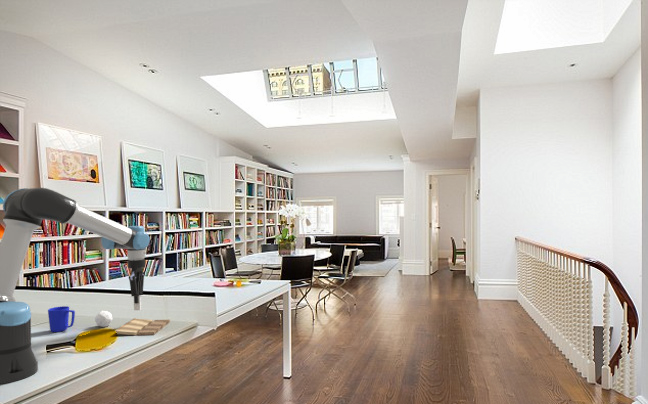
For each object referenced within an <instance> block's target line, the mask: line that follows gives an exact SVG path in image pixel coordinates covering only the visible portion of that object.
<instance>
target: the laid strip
mask: <svg viewBox="0 0 648 404" xmlns="http://www.w3.org/2000/svg"><path fill="white" fill-rule="evenodd" d="M169 323H171V319H154V320H153V322H152V323H151V324H149V325H148V326H146V327H145V328H144V329H142V330H141V331H140V332H138V334H136V336H150V335H151V336H153V335H157V333H159V331H161V330H162V329H163V328H165V327H166V326H167V325H168V324H169Z"/></svg>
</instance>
